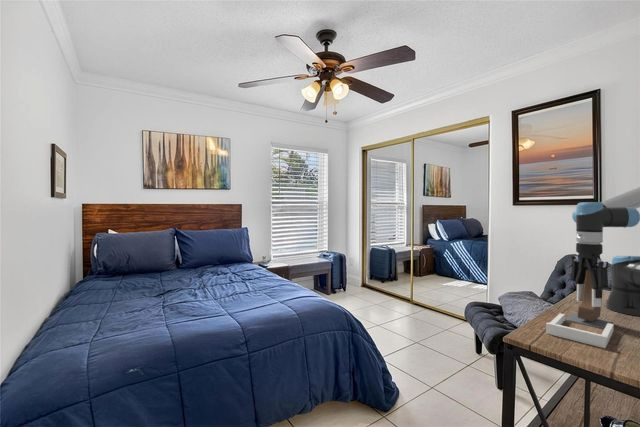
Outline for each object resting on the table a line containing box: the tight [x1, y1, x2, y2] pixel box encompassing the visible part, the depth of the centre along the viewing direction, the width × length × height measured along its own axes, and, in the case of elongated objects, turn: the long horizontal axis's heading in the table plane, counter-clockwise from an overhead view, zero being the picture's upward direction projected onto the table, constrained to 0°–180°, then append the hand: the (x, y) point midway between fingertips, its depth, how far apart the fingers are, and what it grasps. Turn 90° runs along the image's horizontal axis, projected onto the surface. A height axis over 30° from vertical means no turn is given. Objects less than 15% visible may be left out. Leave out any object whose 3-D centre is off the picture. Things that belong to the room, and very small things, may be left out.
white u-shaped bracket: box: [545, 312, 615, 349], centre depth 106 cm, size 20×15×4 cm
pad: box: [564, 312, 613, 330], centre depth 116 cm, size 11×12×1 cm
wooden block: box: [577, 269, 604, 321], centre depth 115 cm, size 9×4×18 cm, turn 124°
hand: (588, 303), depth 116 cm, fingers closed on wooden block, 6 cm apart
